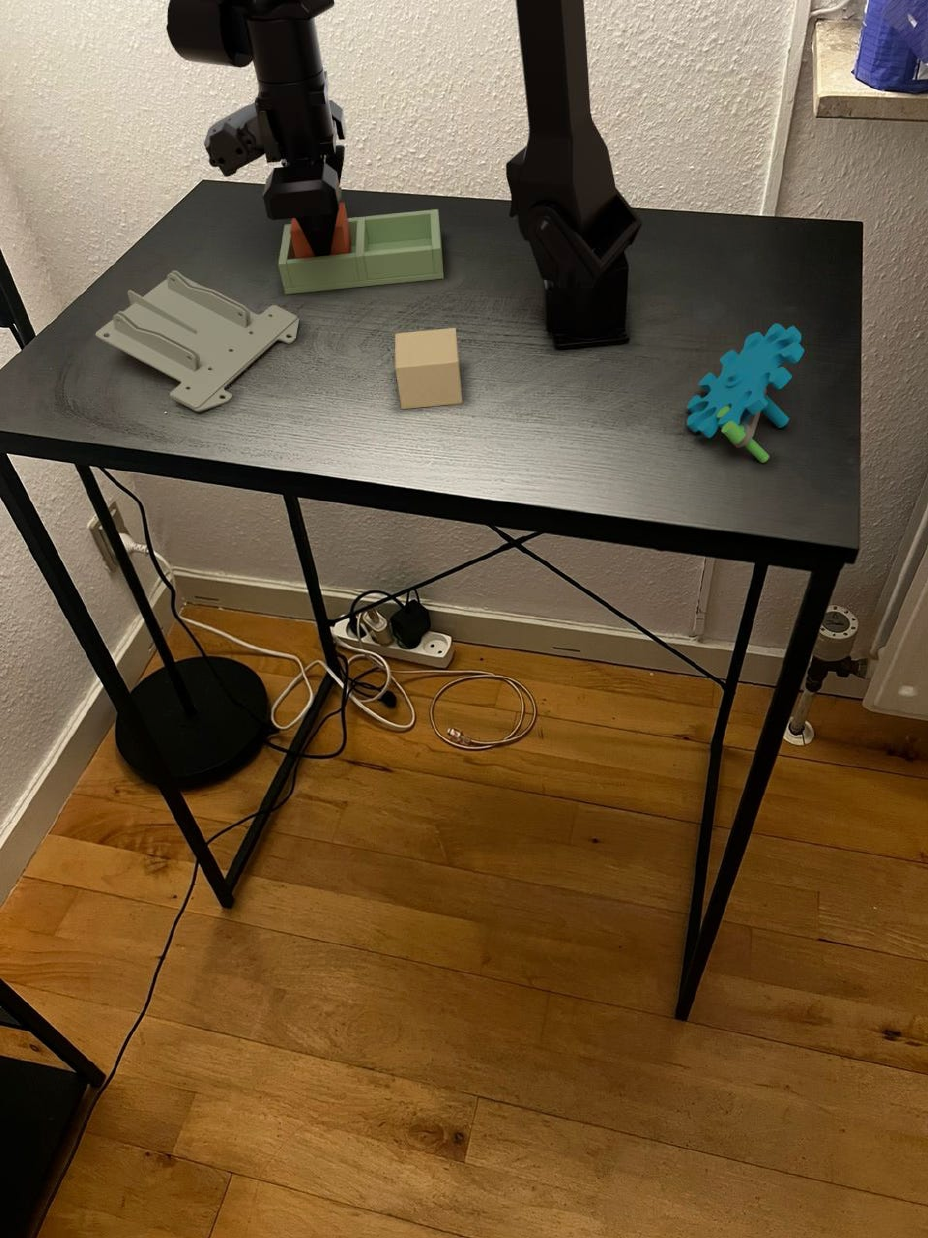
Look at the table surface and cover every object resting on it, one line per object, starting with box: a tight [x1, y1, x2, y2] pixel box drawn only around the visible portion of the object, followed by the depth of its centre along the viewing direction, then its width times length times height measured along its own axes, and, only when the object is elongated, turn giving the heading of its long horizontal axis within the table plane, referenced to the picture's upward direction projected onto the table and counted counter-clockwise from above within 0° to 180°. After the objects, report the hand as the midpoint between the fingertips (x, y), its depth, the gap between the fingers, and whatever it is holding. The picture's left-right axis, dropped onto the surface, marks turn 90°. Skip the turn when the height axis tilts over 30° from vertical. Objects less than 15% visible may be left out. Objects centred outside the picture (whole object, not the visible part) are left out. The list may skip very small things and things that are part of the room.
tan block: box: [394, 327, 463, 410], centre depth 77 cm, size 5×5×4 cm
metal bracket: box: [95, 270, 300, 413], centre depth 84 cm, size 14×6×15 cm
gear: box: [686, 323, 805, 464], centre depth 70 cm, size 11×6×10 cm
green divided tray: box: [277, 208, 445, 295], centre depth 92 cm, size 15×8×3 cm, turn 93°
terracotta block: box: [290, 202, 352, 259], centre depth 91 cm, size 5×5×4 cm
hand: (324, 246), depth 92 cm, fingers closed on terracotta block, 5 cm apart
